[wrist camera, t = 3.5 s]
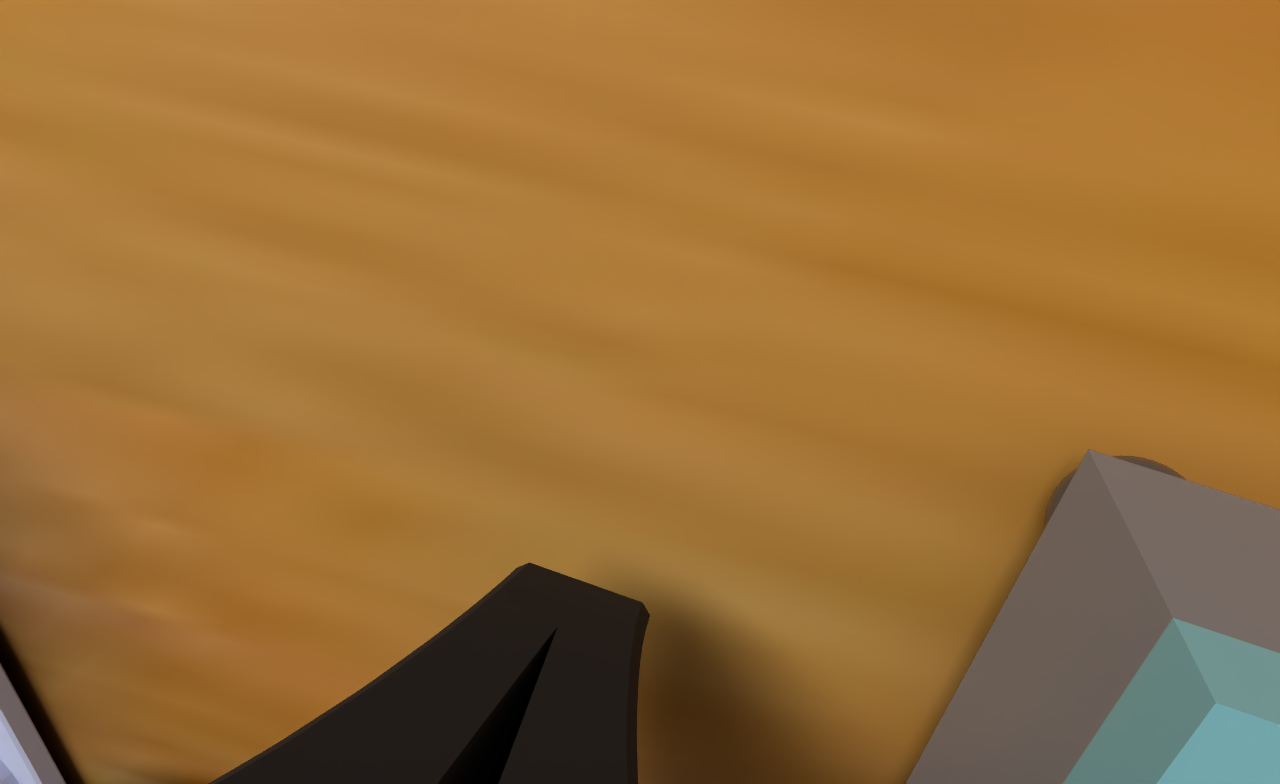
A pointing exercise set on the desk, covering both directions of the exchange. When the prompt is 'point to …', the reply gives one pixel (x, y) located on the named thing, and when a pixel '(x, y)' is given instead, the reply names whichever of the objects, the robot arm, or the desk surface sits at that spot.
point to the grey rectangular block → (1127, 643)
